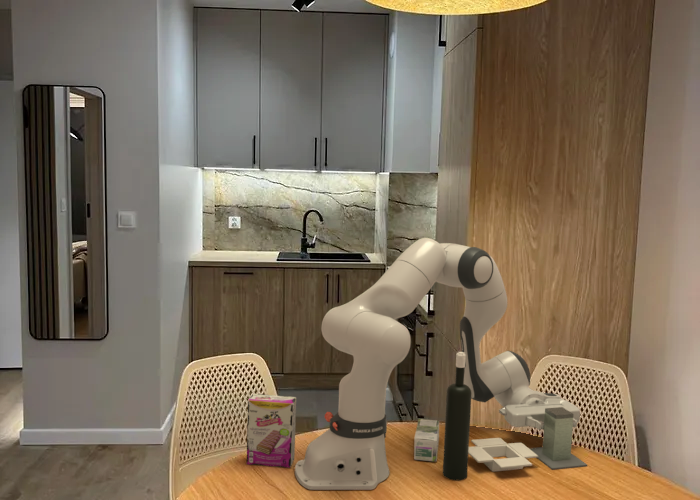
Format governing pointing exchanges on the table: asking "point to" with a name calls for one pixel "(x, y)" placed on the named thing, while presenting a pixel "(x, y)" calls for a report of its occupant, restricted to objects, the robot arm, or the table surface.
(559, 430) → the tea tin
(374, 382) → the robot arm
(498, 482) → the table surface
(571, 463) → the mat
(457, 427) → the wine bottle
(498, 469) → the carton
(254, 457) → the candy bar box
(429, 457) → the syrup box
